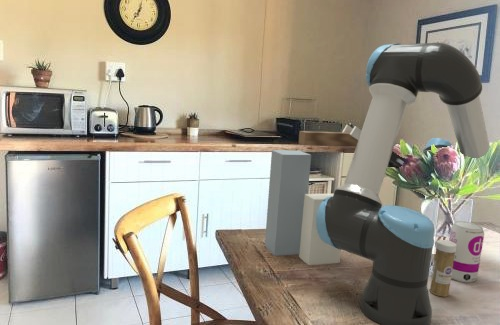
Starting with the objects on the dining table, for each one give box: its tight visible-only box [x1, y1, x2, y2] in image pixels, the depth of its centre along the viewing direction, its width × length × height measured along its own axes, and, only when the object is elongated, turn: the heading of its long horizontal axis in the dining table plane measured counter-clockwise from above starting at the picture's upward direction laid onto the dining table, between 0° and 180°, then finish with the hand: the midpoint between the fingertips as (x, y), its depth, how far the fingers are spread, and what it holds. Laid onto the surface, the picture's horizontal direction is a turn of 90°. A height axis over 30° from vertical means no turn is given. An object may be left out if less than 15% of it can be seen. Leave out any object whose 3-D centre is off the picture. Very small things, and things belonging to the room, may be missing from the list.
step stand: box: [264, 149, 342, 266], centre depth 124 cm, size 17×16×30 cm
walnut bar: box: [298, 130, 358, 147], centre depth 118 cm, size 22×4×4 cm, turn 109°
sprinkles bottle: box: [429, 239, 457, 298], centre depth 106 cm, size 5×5×13 cm
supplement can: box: [448, 220, 485, 283], centre depth 116 cm, size 8×8×15 cm
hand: (348, 129), depth 119 cm, fingers closed on walnut bar, 3 cm apart
